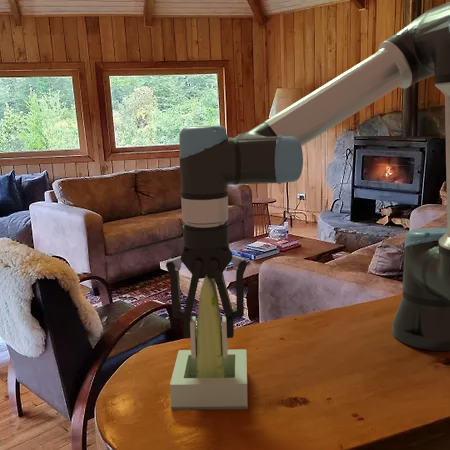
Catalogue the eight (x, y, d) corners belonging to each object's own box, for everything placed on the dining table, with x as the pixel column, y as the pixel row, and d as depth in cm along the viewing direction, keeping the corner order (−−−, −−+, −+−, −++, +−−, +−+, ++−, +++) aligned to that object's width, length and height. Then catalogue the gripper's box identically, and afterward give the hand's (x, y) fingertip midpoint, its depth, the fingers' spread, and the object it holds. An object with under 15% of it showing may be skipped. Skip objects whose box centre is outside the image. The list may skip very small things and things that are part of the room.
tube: (232, 381, 90) (229, 273, 86) (207, 390, 87) (203, 279, 83) (214, 369, 95) (211, 265, 91) (190, 377, 92) (186, 270, 88)
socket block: (246, 371, 97) (246, 349, 96) (247, 409, 85) (247, 383, 84) (179, 372, 98) (178, 350, 97) (171, 409, 86) (169, 384, 85)
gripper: (259, 216, 88) (260, 344, 93) (155, 218, 89) (161, 345, 94) (260, 226, 81) (262, 364, 86) (147, 228, 82) (155, 365, 87)
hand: (209, 354), depth 90 cm, fingers closed on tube, 5 cm apart
